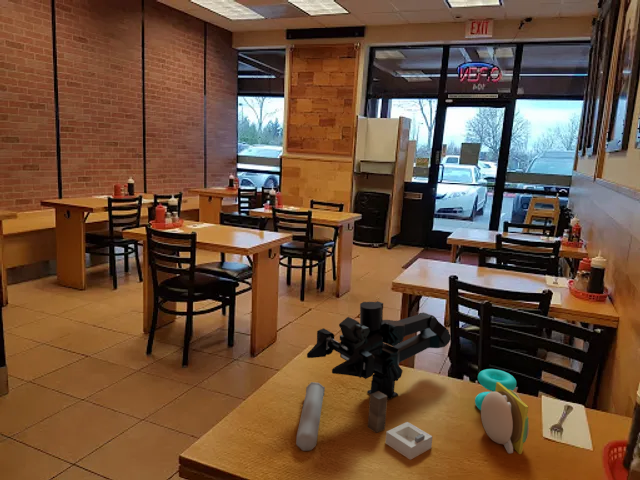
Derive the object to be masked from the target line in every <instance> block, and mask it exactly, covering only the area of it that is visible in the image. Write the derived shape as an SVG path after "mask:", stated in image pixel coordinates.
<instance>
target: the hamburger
mask: <svg viewBox="0 0 640 480" xmlns="http://www.w3.org/2000/svg"><path fill="white" fill-rule="evenodd" d="M489 392H490V393H489V394H487V395H486V396H485V398H484V400H483V402H482V406H481V410H480V416H481V417H480V418H481V422H482V426H483V428H484V431H485V433H486V435H487V436H488V437H489V439H491V440H492V441H493V442H494V443H496V444H498V445H499V444H500V445H503V446H504V448H505V450H506V452H507V453H508V454H513V453H514V450H515V452H517V454H518V455H522V454H523V450H524V449H523V447H524V444H525V443H526V441H527V439H528V437H529V432H530V427H529V426H530V425H529V417H528V412H529V406H528V405H527V404H526V403H525V402H524V401H523V400H522V399H521V398H520V396H519V395H518V394H517V393H516V392H515V391H514V390H513V391H512V390H510V389H507V388H506V387H504V386H503V385H502V384H501V383H500V382H496V390H495V392H493V391H489Z"/></svg>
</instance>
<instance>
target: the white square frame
mask: <svg viewBox="0 0 640 480" xmlns="http://www.w3.org/2000/svg"><path fill="white" fill-rule="evenodd" d="M432 443H433V435H431V434H429V433H428V432H426V431H424V430H422V429H420V428H419V427H417V426H416V425H414V424H412V423H411V422H408V421H406V422H404V423H401V424H399V425H398V426H395V427H394V428H391V429H389V430H386V433H385V444H386V445H387V446H389V447H390V448H392V449H393V450H395V451H396V452H398V453H399V454H401V455H403V456H404V457H406V458H407V459H408V460H410V461H411V460H412V459H414V458H416V457H418V456H419V455H421V454H423V453H425V452H427V451H429V450H430V449H432Z"/></svg>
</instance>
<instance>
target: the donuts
mask: <svg viewBox="0 0 640 480" xmlns="http://www.w3.org/2000/svg"><path fill="white" fill-rule="evenodd" d="M477 381H478V383H479V384H480V385H481V387H483V388H484V389H486V390H487V391H482V392H479V393H478V394H477V395H476V396H475V399H474V404H475V406H476V407H477V409H478V410H479V411H481V406H482V402H483V400H484V398H485V396H486V395H487V394H489V393H490V392H495V390H496V382H500V383H501V384H502V385H503V386H504V387H506V388H507V389H510V390H512V391H514V390H515V389H516V388H517V380H516V378H515V377H514V376H513V375H512V374H510V373H509V372H506V371H504V370H501V369H495V368H486V369H483V370H481V371H479V373H478V375H477Z"/></svg>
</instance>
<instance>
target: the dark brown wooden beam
mask: <svg viewBox="0 0 640 480" xmlns="http://www.w3.org/2000/svg"><path fill="white" fill-rule="evenodd" d="M369 395H370V396H369V405H368V406H369V407H368V421H367V428H368V429H369V430H371V431H372V432H374V433H375V434H377V433H380V432H382V431H384V430H385V429H386V420H387V419H386V417H387V406H388V405H387V404H388V400H387V395H385V394H383V393H381V392H380V391H377V392H375V393H372V394H369Z"/></svg>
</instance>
